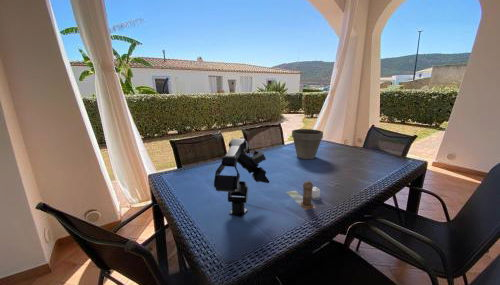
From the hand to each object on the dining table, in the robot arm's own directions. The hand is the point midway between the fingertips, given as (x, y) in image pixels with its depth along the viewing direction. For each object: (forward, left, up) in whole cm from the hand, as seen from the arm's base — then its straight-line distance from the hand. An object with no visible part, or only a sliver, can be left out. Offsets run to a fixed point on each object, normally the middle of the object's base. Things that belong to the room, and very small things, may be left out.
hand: (265, 178), depth 111 cm
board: (+9, -16, -13) cm, 22 cm away
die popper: (+15, -22, -13) cm, 29 cm away
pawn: (+4, -20, -12) cm, 24 cm away
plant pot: (+83, -2, -13) cm, 84 cm away
